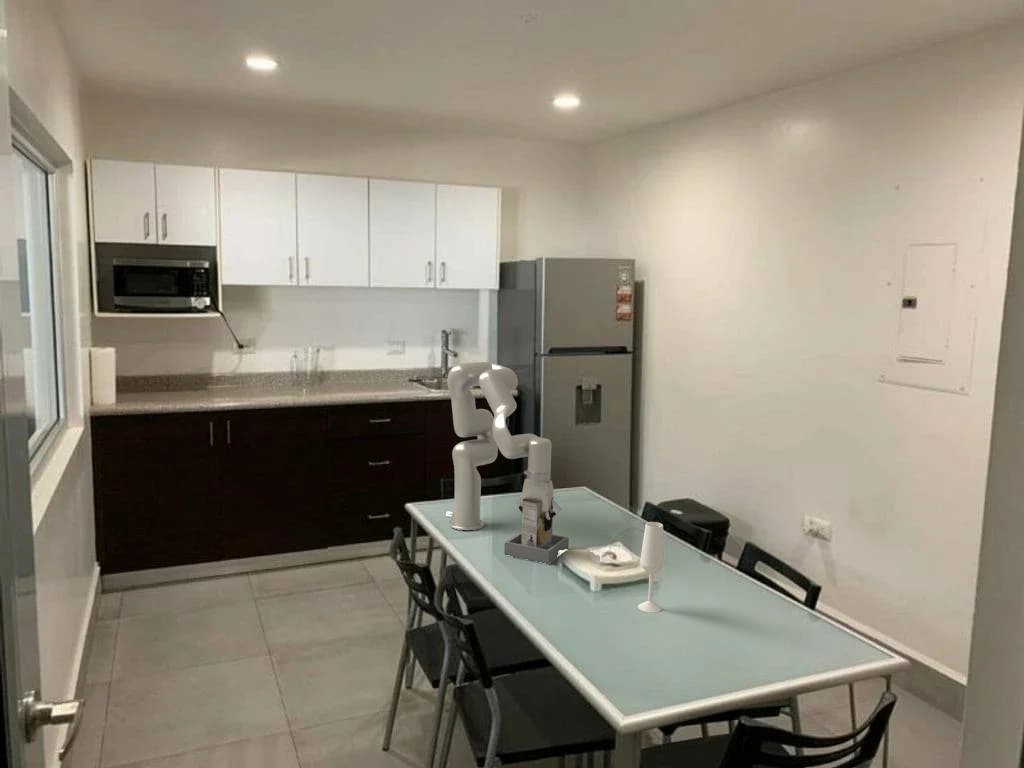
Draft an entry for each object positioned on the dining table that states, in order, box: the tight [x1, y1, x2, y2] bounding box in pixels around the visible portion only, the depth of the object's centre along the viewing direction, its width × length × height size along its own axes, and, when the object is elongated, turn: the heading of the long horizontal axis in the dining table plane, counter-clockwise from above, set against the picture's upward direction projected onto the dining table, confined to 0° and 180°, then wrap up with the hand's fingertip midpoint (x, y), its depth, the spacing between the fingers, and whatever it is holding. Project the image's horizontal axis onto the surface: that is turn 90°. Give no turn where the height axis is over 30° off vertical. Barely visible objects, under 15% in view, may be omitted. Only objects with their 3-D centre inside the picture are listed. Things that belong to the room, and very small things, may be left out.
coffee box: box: [521, 498, 554, 548], centre depth 256 cm, size 9×6×16 cm
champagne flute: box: [637, 521, 666, 613], centre depth 214 cm, size 7×7×24 cm
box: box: [503, 531, 570, 565], centre depth 257 cm, size 16×16×4 cm
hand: (537, 527), depth 256 cm, fingers closed on coffee box, 7 cm apart
